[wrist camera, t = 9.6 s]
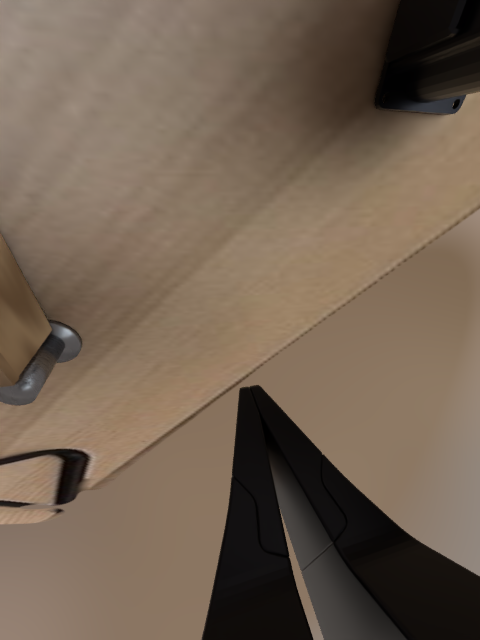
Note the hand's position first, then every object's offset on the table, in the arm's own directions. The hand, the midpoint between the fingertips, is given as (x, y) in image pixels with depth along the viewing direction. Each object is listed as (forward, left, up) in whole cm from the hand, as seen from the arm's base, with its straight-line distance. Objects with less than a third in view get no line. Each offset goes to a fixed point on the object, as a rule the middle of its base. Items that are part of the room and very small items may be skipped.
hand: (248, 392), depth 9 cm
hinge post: (+14, +5, -12) cm, 19 cm away
